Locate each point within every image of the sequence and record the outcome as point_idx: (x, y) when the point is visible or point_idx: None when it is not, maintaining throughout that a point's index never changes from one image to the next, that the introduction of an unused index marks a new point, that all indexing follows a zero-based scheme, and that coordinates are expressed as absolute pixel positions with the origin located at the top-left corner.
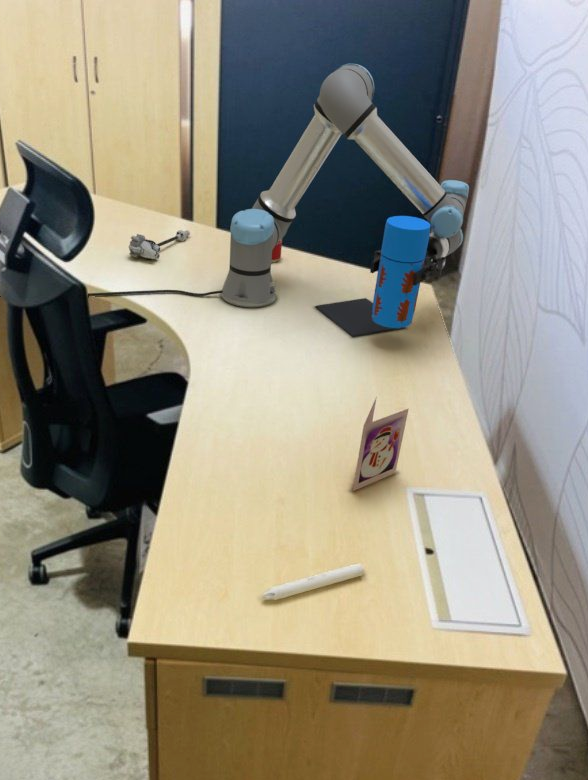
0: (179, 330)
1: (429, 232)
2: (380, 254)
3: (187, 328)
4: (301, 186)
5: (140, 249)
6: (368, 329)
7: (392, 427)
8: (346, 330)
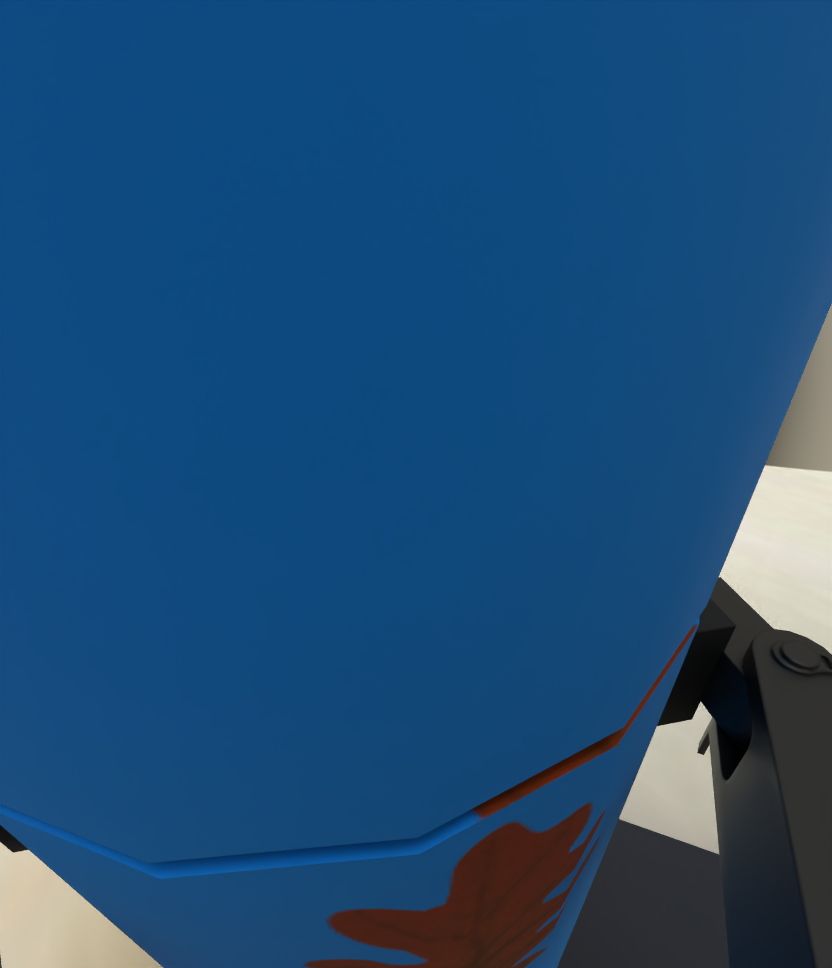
0: (775, 469)
1: None
2: (794, 634)
3: (786, 480)
4: None
5: None
6: (583, 962)
7: None
8: (625, 822)
